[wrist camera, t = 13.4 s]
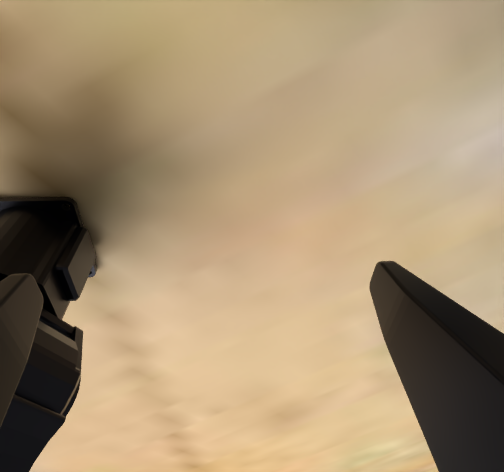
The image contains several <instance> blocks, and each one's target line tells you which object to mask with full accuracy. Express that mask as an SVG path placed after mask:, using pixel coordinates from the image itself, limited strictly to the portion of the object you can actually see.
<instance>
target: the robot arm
mask: <svg viewBox="0 0 504 472" xmlns="http://www.w3.org/2000/svg"><path fill="white" fill-rule="evenodd" d="M64 204H68V205H69V206H70V207H66V206H65V205H64ZM95 259H96V254H95V251H94V248H93V245H92V242H91V238H90V235H89V232H88V229H87V228H85V227H84V226H83V223H82V220H81V217H80V213H79V210H78V207H77V204H76V202H75V201H74V200H73V199H71V198H69V197H38V198H0V472H29V471H30V469H31V467H32V465H33V464H34V462H35V460H36V459H37V457H38V456H39V454H40V453H41V452H42V450H43V449H44V447H45V446H46V444H47V443H48V441H49V440H50V439H51V438H52V437H53V435H54V434H55V433H56V432H57V431H58V429H59V428H60V427H61V426H62V425H63V423H64V422H65V419H66V415H67V414H68V412H69V411H70V409H71V407H72V405H73V403H74V401H75V399H76V397H77V394H78V391H79V386H80V379H81V360H82V342H83V331H82V330H81V329H79V328H77V327H76V326H75V327H72V326H71V325H69V324H68V323H66V322H64V321H63V320H62V318H63V316H64V314H65V312H66V309H67V307H68V305H69V303H70V301H76V300H77V299H78V298H79V297H80V295H81V292H82V290H83V288H84V285H85V283H86V280H87V278H88V277H93V276H94V275H95V274H96V271H97V267H96V264H95ZM370 292H371V296H372V299H373V303H374V306H375V310H376V313H377V317H378V320H379V324H380V327H381V330H382V334H383V337H384V340H385V342H386V345H387V348H388V350H389V352H390V355H391V357H392V360H393V362H394V365H395V367H396V369H397V372H398V374H399V377H400V379H401V381H402V384H403V386H404V389H405V391H406V393H407V396H408V398H409V401H410V403H411V405H412V408H413V410H414V413H415V415H416V418H417V420H418V422H419V425H420V427H421V430H422V432H423V434H424V437H425V439H426V442H427V444H428V446H429V449H430V451H431V454H432V456H433V458H434V461H435V463H436V466H437V468H438V471H439V472H504V334H503V333H502V332H500V331H499V330H497V329H496V328H494V327H493V326H491V325H490V324H488V323H487V322H485V321H484V320H482V319H480V318H479V317H477V316H476V315H474V314H473V313H471V312H470V311H468V310H467V309H465V308H464V307H462V306H461V305H459V304H458V303H456V302H455V301H453V300H452V299H450V298H449V297H447V296H446V295H444V294H443V293H441V292H440V291H438V290H437V289H435V288H433V287H432V286H430V285H429V284H427V283H426V282H424V281H423V280H421V279H420V278H418V277H417V276H415V275H414V274H412V273H411V272H409V271H408V270H406V269H405V268H403V267H402V266H400V265H399V264H397V263H396V262H394V261H380V262H378V263H377V264H376V266H375V269H374V272H373V275H372V278H371V281H370Z"/></svg>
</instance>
